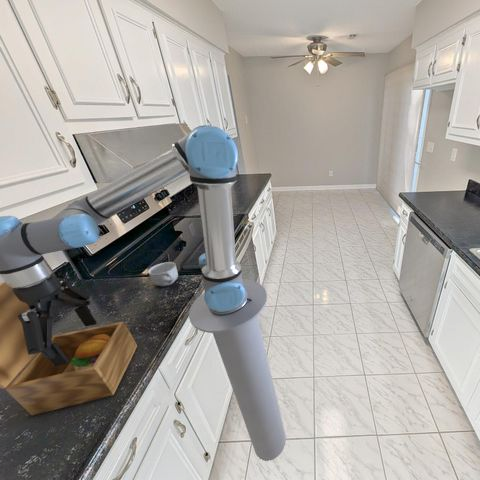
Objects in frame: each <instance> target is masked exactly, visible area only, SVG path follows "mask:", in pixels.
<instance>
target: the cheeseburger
mask: <svg viewBox="0 0 480 480" xmlns="http://www.w3.org/2000/svg"><path fill="white" fill-rule="evenodd" d="M110 338H111V337H110V336H109V335H106V334H100V335H96V336H93V337H91V338H89V339H87V340H85V341H84V342H82V343H81V344H80V345H79V347H78V348H77V350H76V353H75V357H74V358H73V359H72V360H71V361H73V362H72V363H71V364H72V366H73V365H74V367H75V368H74V369H75V370H80V369H84V368H88V367H93V365H94V363H95V362H96V360H97V359H98V357H99V355H100V354H101V352H102V351H103V349H104V347H105V346H106V344H107V343H108V341H109V339H110Z"/></svg>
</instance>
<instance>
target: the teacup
mask: <svg viewBox="0 0 480 480" xmlns="http://www.w3.org/2000/svg"><path fill="white" fill-rule="evenodd" d="M147 274H148V275H149V278H150V280H151V282H152V284H153V285H155V286H158V287H166V286H167V287H168V286H170V285H172V284H174V282H175V281H176V280H177V279H178V278H179V273H178V269H177V264H176V263H175V262H173V261H166V262H165V261H164V262H161V263H158V264H155V265H153V266H151V267H150V268H149V269H148V270H147Z"/></svg>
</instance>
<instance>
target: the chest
mask: <svg viewBox="0 0 480 480" xmlns="http://www.w3.org/2000/svg"><path fill="white" fill-rule="evenodd" d="M100 334H106V335H109V336H110V337H111V338H110V339H109V341H108V343H107V344H106V346H105V347H104V349H103V351H102V352H101V354H100V355H99V357H98V359H97V360H96V362H95V363H94V365H93V367H88V368H84V369H80V370H75V369H74V368H75V367H74V365H73V366H72V364H71V363H72V362H73V361H71V360H72V359H73V358H74V357H75V353H76V350H77V348H78V347H79V345H80V344H81V343H82V342H84V341H85V340H87V339H89V338H91V337H93V336H96V335H100ZM52 343H56V344H57V346H58V347H59V348H60V350H61V351H62V352H63V353H64V355H65V356H66V357H67V359H68V360H69V361H68V363H66V364H61V365H57V366H55V365H54V364H53V363H52V362H51V361H50V359H46V358H45V357H44V356H43V354H42V353H37V354H35V355H34V357H33V358H32V359H31V360H30V361H29V362H28V363H27V364H26V366H25V367H24V368H23V369H22V370H21V371H20V372H19V373H18V375H17V376H16V377H15V378H14V379H13V380H12V381H11V382H10V383H9V385H8V386H7V387H6V388H4V389H5V391H6V392H7V393H8V394H9V395H10V396H11V397H12V398H13V399H14V400H15V401H16V402H17V403H18V404H19V405H21V407H22V408H23V409H25V410H26V411H27V413H29V414H30V415H31V416H35V415H39V414H44V413H48V412H51V411H56V410H60V409H65V408H68V407H71V406H72V407H73V406H76V405H79V404H84V403H88V402H91V401H95V400H99V399H105V398H107V397H111V396H114V395H115V393H116V391H117V389H118V387H119V385H120V383H121V382H122V379H123V377H124V375H125V373H126V370H127V369H128V367H129V364H130V362H131V360H132V358H133V356H134V354H135V352H136V350H137V348H138V344H137V342H136V340H135V339H134V337H133V335H132V334H131V332H130V330H129V328H128V326H127V324H126V323H125V321H119V322H114V323H108V324H104V325H99V326H93V327H88V328H84V329H79V330H75V331H69V332H65V333H64V332H63V333H60V334H53V335H52Z"/></svg>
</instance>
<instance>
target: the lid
mask: <svg viewBox="0 0 480 480" xmlns="http://www.w3.org/2000/svg"><path fill="white" fill-rule="evenodd" d="M28 310H29V306H28V304H26V303H24V302H21V301H20V300H19V299H18V298H17V297H16V295H15V294H14V293H13V291H12V288H11V287H9V286H8V285H7V283H6V282H5V281H2V282H1V283H0V389H6V388H7V387H8V386H9V385H10V384H11V382H12V381H13V380H14V379H15V378H16V377H17V376H18V375H19V373H20V372H21V371H22V370H23V369H24V368H25V367H26V366H27V364H28V363H29V362H30V361H31V360H32V359H33V358H34V357H35V355H36V354H32V355H29V354H28V351H27V346H26V341H25V336H24V331H23V326H22V323H21V321H20V320H19V318H18V314H20V313H25V312H26V311H28ZM52 336H54V333H53V332H52ZM44 344H45V343H44Z"/></svg>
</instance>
